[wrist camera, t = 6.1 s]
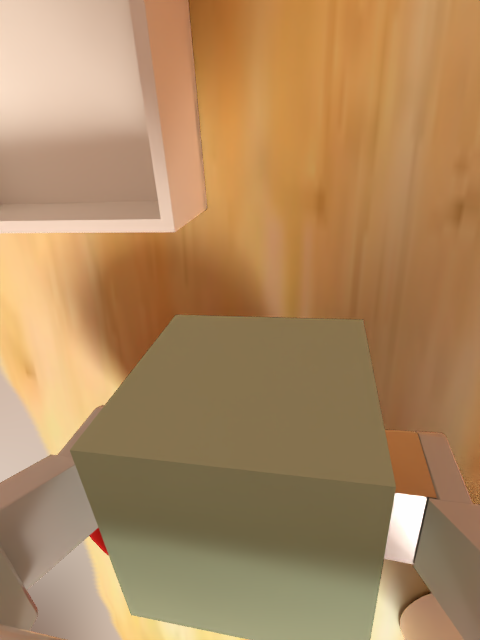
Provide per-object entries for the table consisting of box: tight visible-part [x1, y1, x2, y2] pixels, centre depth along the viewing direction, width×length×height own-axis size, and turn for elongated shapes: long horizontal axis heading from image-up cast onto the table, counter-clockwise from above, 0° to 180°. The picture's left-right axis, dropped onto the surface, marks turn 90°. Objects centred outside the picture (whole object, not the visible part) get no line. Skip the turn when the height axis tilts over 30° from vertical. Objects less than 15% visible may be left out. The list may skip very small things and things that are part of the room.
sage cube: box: [70, 315, 396, 640], centre depth 8 cm, size 4×4×4 cm
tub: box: [0, 0, 207, 233], centre depth 18 cm, size 14×14×6 cm
